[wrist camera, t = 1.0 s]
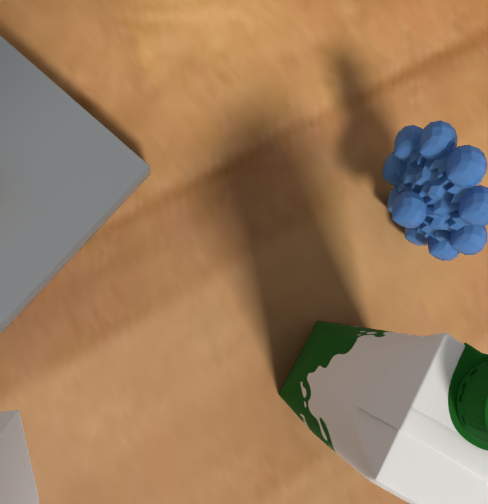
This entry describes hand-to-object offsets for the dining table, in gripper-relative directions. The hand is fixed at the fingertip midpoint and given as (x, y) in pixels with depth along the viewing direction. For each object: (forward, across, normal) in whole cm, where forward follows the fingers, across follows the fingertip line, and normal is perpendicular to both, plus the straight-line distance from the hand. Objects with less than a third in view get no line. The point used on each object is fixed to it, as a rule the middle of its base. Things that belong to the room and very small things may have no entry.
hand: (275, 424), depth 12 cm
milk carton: (+25, -7, +13) cm, 29 cm away
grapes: (+30, -14, 0) cm, 34 cm away
